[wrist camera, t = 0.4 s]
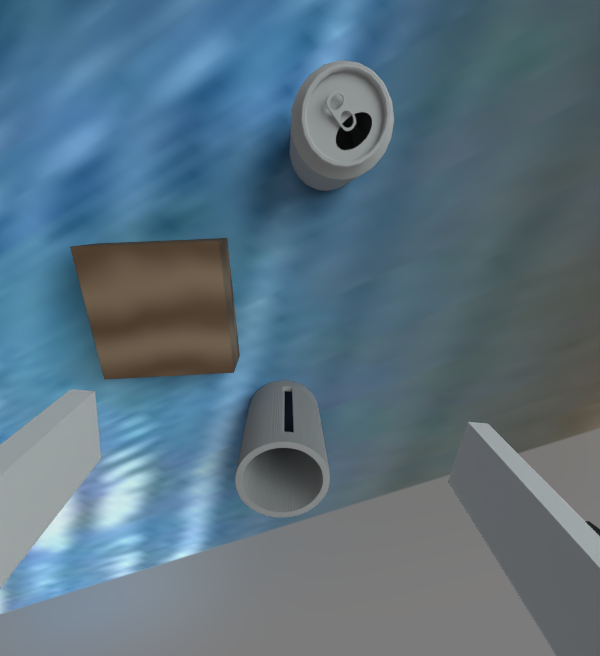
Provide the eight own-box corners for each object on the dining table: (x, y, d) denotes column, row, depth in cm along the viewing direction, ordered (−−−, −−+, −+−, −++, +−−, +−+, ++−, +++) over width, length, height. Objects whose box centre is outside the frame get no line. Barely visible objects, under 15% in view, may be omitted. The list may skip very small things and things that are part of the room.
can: (320, 207, 35) (337, 200, 23) (273, 147, 33) (267, 106, 21) (376, 157, 33) (423, 124, 22) (331, 91, 31) (357, 17, 20)
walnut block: (99, 243, 35) (70, 246, 30) (227, 238, 36) (218, 240, 31) (126, 360, 40) (104, 379, 35) (239, 354, 40) (233, 372, 35)
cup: (264, 448, 44) (256, 527, 33) (237, 394, 41) (219, 459, 30) (327, 427, 43) (341, 501, 32) (304, 371, 41) (311, 429, 29)
